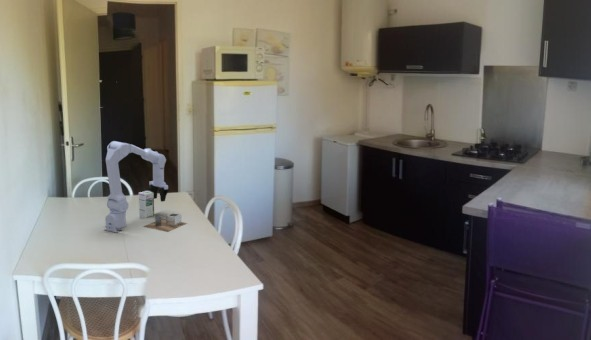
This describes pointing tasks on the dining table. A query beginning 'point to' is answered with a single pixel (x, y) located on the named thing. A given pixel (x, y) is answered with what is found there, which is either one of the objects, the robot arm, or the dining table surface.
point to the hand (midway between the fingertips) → (158, 199)
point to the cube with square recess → (173, 219)
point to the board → (163, 226)
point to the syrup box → (146, 204)
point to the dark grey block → (157, 220)
